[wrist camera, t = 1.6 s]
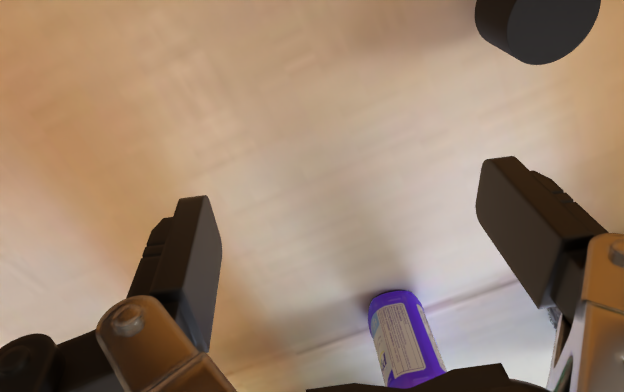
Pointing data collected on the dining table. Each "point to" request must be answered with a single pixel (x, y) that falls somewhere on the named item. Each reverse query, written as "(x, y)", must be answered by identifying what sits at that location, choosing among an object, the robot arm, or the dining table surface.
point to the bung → (536, 26)
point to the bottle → (403, 340)
